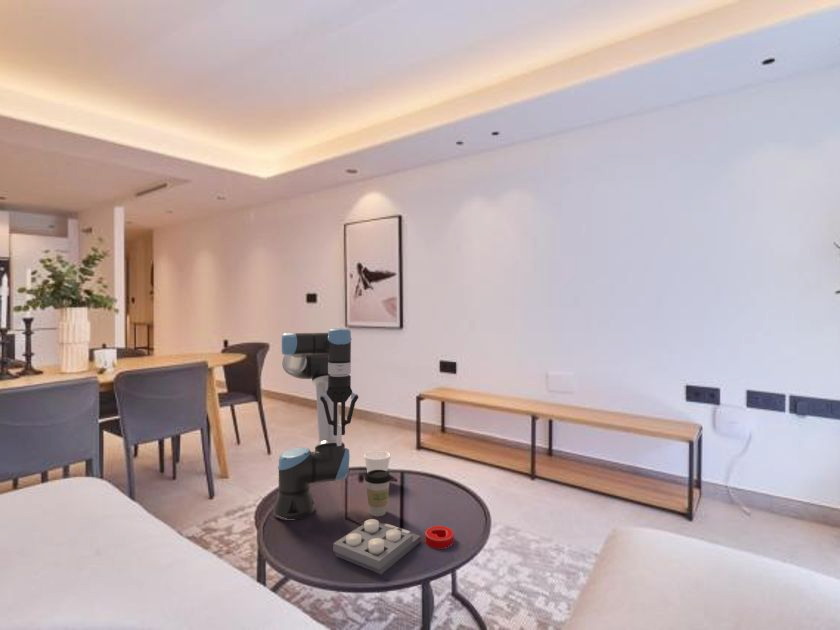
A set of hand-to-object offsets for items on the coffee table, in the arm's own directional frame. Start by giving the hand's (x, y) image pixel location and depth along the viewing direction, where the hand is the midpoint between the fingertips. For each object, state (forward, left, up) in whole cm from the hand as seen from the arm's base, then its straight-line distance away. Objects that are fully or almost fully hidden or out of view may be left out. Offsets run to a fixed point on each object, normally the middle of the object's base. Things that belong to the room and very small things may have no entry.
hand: (339, 444), depth 154 cm
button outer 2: (+20, +4, -30) cm, 36 cm away
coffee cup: (-1, +23, -33) cm, 40 cm away
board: (+15, +3, -32) cm, 36 cm away
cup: (-19, +46, -33) cm, 59 cm away
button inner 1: (+11, -4, -30) cm, 32 cm away
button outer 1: (+20, -4, -29) cm, 35 cm away
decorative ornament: (+29, +18, -33) cm, 47 cm away
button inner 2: (+11, +4, -29) cm, 31 cm away
